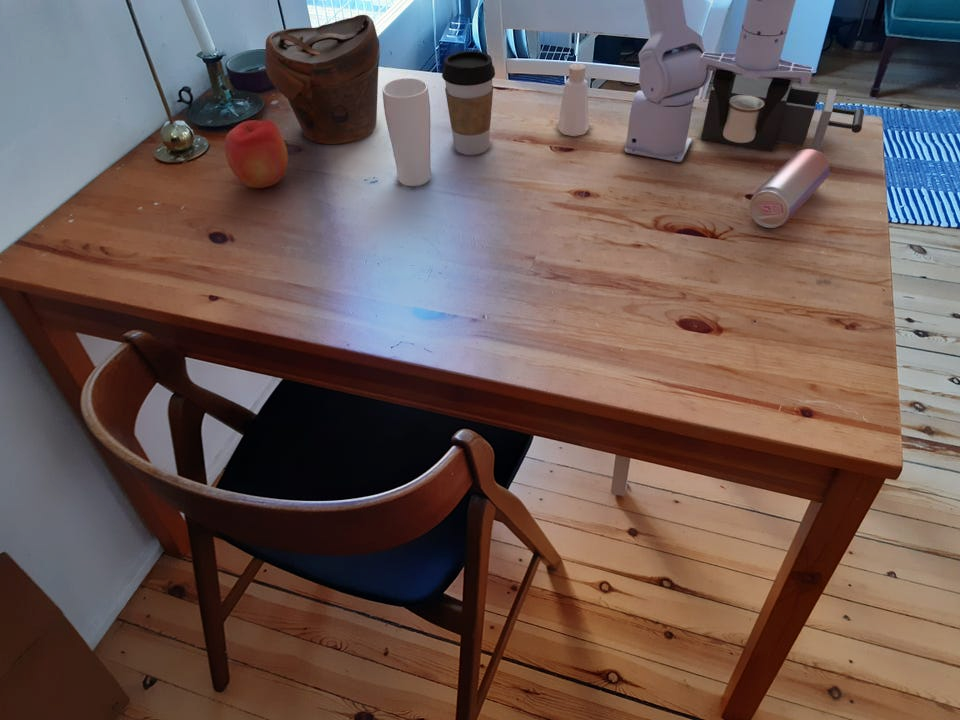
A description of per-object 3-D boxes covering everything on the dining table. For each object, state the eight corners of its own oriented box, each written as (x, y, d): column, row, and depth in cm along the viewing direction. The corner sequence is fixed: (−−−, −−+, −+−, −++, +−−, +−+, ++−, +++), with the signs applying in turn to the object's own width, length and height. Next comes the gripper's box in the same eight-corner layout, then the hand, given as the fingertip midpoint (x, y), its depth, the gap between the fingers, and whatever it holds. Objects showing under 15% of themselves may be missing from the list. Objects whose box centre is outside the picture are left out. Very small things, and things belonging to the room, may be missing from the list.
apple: (300, 167, 117) (287, 109, 110) (288, 199, 111) (273, 139, 103) (243, 168, 118) (226, 111, 111) (227, 200, 111) (208, 140, 104)
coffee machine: (780, 125, 122) (794, 76, 116) (772, 151, 116) (786, 101, 110) (712, 115, 126) (722, 66, 120) (700, 139, 120) (710, 89, 114)
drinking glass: (443, 173, 115) (436, 81, 104) (423, 194, 110) (414, 100, 100) (406, 165, 117) (396, 74, 106) (385, 185, 112) (372, 93, 102)
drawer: (855, 134, 118) (870, 94, 113) (851, 158, 112) (866, 117, 108) (759, 119, 123) (769, 80, 118) (751, 141, 117) (761, 101, 112)
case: (261, 136, 126) (233, 31, 113) (345, 96, 136) (329, -4, 123) (327, 167, 117) (305, 58, 104) (412, 122, 127) (401, 17, 115)
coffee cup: (438, 154, 119) (431, 64, 108) (458, 131, 125) (453, 44, 114) (485, 162, 117) (482, 71, 106) (503, 138, 122) (502, 50, 112)
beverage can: (833, 183, 106) (792, 229, 98) (793, 185, 110) (751, 229, 103) (829, 145, 104) (786, 188, 96) (788, 149, 108) (744, 191, 100)
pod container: (718, 140, 102) (725, 106, 98) (725, 125, 105) (732, 92, 101) (752, 146, 100) (761, 112, 97) (758, 131, 103) (767, 97, 100)
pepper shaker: (590, 136, 122) (595, 72, 114) (558, 136, 122) (561, 73, 114) (587, 121, 126) (592, 58, 118) (556, 122, 126) (559, 59, 118)
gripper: (701, 31, 92) (683, 129, 101) (820, 46, 87) (789, 148, 97) (713, 13, 96) (694, 108, 106) (826, 26, 92) (796, 125, 101)
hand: (740, 126), depth 102 cm, fingers closed on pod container, 4 cm apart
